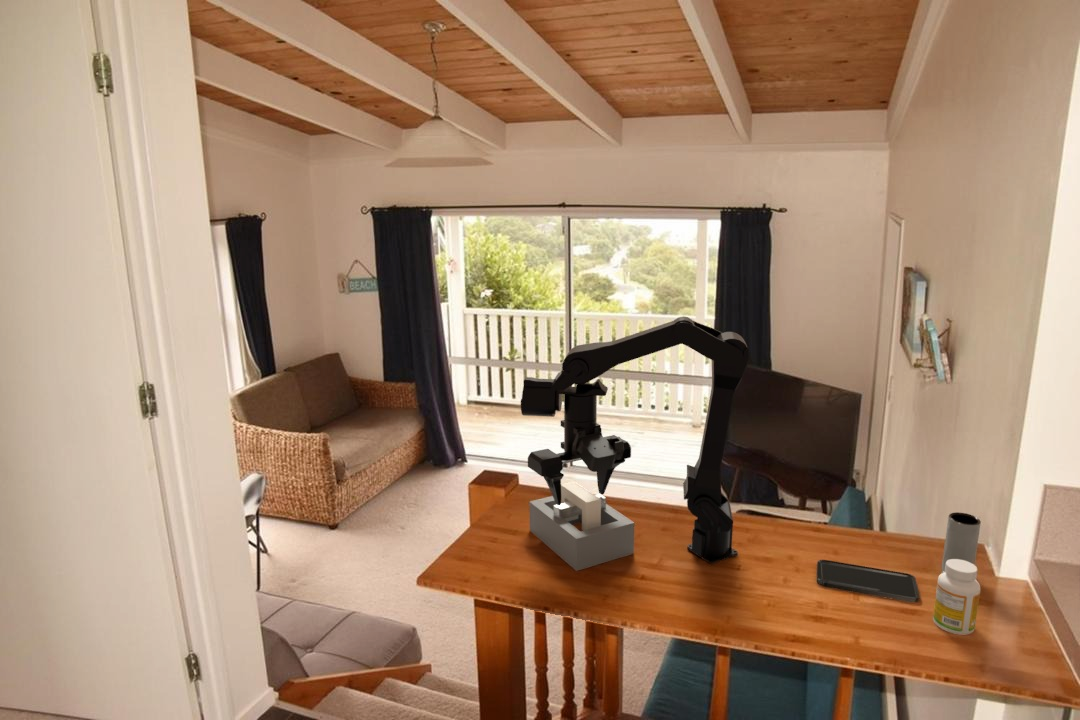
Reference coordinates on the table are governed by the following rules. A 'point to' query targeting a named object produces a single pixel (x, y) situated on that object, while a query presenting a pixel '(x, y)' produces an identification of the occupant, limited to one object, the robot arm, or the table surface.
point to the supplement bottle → (957, 597)
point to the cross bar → (572, 509)
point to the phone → (867, 580)
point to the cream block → (582, 504)
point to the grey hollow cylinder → (961, 538)
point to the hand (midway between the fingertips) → (580, 499)
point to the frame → (582, 535)
